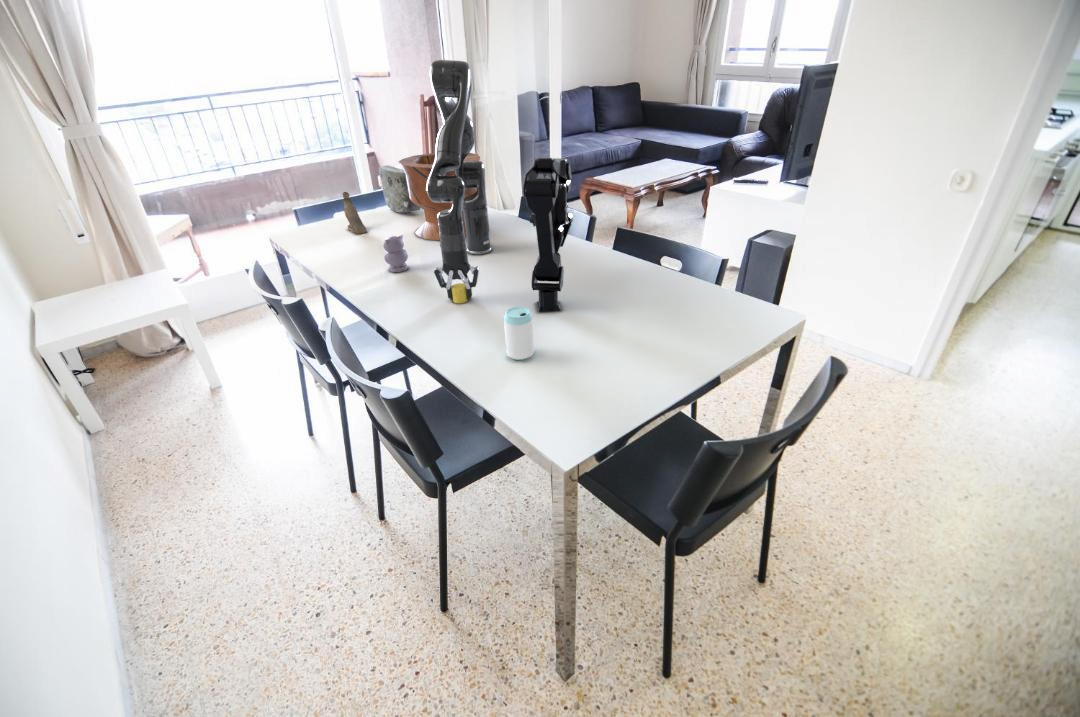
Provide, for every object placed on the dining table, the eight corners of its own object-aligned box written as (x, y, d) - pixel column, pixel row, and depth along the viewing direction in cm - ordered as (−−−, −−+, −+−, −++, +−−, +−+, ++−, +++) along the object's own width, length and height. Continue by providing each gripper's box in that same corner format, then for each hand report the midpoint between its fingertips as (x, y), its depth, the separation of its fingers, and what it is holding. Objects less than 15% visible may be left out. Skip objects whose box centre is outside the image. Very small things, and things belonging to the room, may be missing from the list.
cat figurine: (401, 263, 186) (395, 231, 179) (414, 267, 181) (409, 235, 175) (382, 270, 180) (375, 237, 174) (395, 274, 176) (388, 241, 169)
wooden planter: (394, 239, 210) (380, 166, 195) (433, 216, 239) (423, 151, 223) (469, 244, 201) (460, 168, 186) (499, 220, 230) (494, 152, 214)
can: (533, 346, 129) (531, 304, 123) (534, 360, 123) (532, 317, 117) (506, 347, 129) (503, 306, 123) (506, 362, 123) (502, 318, 117)
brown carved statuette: (348, 234, 227) (335, 193, 221) (360, 231, 230) (348, 191, 223) (356, 234, 218) (343, 192, 211) (368, 231, 221) (355, 189, 214)
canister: (461, 295, 159) (459, 282, 156) (471, 299, 156) (469, 285, 154) (449, 300, 156) (447, 286, 153) (460, 304, 153) (458, 290, 151)
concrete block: (383, 207, 257) (375, 166, 246) (398, 204, 261) (391, 164, 251) (406, 217, 239) (398, 174, 228) (422, 214, 243) (415, 171, 233)
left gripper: (479, 241, 150) (484, 293, 159) (432, 242, 150) (440, 294, 159) (475, 250, 143) (481, 303, 152) (426, 251, 144) (435, 304, 153)
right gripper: (539, 194, 161) (540, 240, 169) (523, 209, 146) (526, 260, 154) (573, 194, 159) (573, 242, 167) (560, 210, 143) (561, 262, 151)
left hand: (460, 298), depth 156 cm, fingers closed on canister, 4 cm apart
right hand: (558, 251), depth 160 cm, fingers open, 9 cm apart
